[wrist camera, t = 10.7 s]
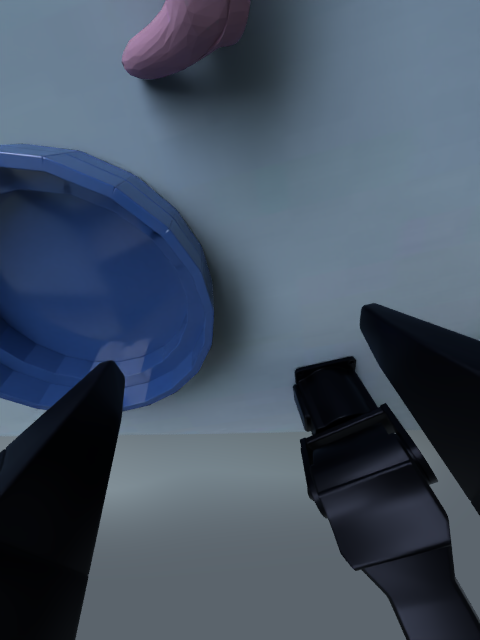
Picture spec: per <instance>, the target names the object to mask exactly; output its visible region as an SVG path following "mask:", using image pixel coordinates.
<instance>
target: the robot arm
mask: <svg viewBox="0 0 480 640" xmlns="http://www.w3.org/2000/svg"><path fill="white" fill-rule="evenodd" d="M360 329H361V332H362V333H363V335H364V337H365V339H366V341H367V343H368V345H369V347H370V349H371V351H372V353H373V355H374V357H375V359H376V361H377V362H378V364H379V366H380V368H381V369H382V371H383V372H384V374H385V375H386V377H387V378H388V380H389V381H390V383H391V384H392V386H393V387H394V389H395V390H396V392H397V393H398V395H399V396H400V398H401V399H402V401H403V402H404V404H405V405H406V406H407V408H408V409H409V411H410V412H411V414H412V415H413V417H414V418H415V420H416V421H417V423H418V424H419V426H420V427H421V429H422V430H423V432H424V433H425V435H426V436H427V438H428V439H429V440H430V442H431V444H432V445H433V446H434V448H435V449H436V451H437V452H438V454H439V456H440V457H441V458H442V460H443V461H444V463H445V464H446V466H447V467H448V469H449V470H450V472H451V473H452V475H453V476H454V478H455V479H456V481H457V482H458V483H459V485H460V487H461V488H462V490H463V491H464V493H465V494H466V496H467V497H468V499H469V500H470V501H471V503H472V505H473V506H474V507H475V509H476V511H477V512H478V514H479V515H480V341H478V340H476V339H473V338H470V337H467V336H465V335H462V334H459V333H456V332H454V331H451V330H448V329H445V328H442V327H440V326H437V325H434V324H431V323H429V322H426V321H423V320H420V319H418V318H415V317H412V316H409V315H406V314H404V313H401V312H398V311H395V310H393V309H390V308H387V307H384V306H381V305H379V304H376V303H372V304H368V305H364V306H363V307H362V309H361V316H360ZM355 367H356V360H355V358H354V357H352V356H351V357H346V358H341V359H337V360H332V361H328V362H324V363H319V364H315V365H310V366H306V367H301V368H298V369H296V370H295V380H296V384H295V385H294V386H293V391H294V399H295V402H296V405H297V408H298V411H299V414H300V417H301V420H302V423H303V426H304V429H305V430H306V431H307V432H309V431H311V432H312V436H310V437H308V438H303V439H300V443H301V454H302V459H303V465H304V471H305V476H306V482H307V487H308V488H307V489H308V495H309V497H310V499H312V500H313V501H315V503H316V505H317V507H318V509H319V511H320V512H321V514H322V515H323V516H324V517H325V518H328V520H329V522H330V525H331V527H332V530H333V533H334V536H335V539H336V541H337V544H338V547H339V550H340V553H341V555H342V556H343V557H344V558H345V560H346V561H347V562H348V563H349V564H350V566H351V567H352V568H353V569H354V570H355V571H357V570H362V571H363V572H364V573H365V574H367V576H368V577H369V578H370V579H371V580H372V581H373V582H374V583H375V584H376V585H377V586H378V587H379V588H380V589H381V590H382V591H383V592H384V593H385V594H386V596H387V597H388V599H389V601H390V603H391V605H392V607H393V610H394V612H395V614H396V616H397V619H398V621H399V623H400V625H401V628H402V630H403V633H404V635H405V637H406V640H480V620H479V617H478V616H477V614H476V612H475V610H474V609H473V607H472V606H471V603H470V602H469V600H468V598H467V597H466V595H465V593H464V591H463V589H462V588H461V586H460V584H459V582H458V581H457V579H456V577H455V573H454V564H453V555H452V546H451V537H450V528H449V520H448V516H447V514H446V512H445V510H444V508H443V507H442V505H441V504H440V502H439V500H438V499H437V497H436V495H435V494H434V492H433V491H432V489H431V488H430V486H429V485H430V484H433V483H436V482H438V480H437V478H436V476H435V474H434V473H433V471H432V469H431V468H430V466H429V464H428V463H427V461H426V460H425V458H424V457H423V455H422V454H421V452H420V451H419V449H418V448H417V446H416V445H415V443H414V442H413V440H412V439H411V437H410V436H409V435H408V433H407V432H406V430H405V429H404V428H403V426H402V425H401V423H400V422H399V421H398V419H397V418H396V416H395V415H394V414H393V412H392V411H391V409H390V408H389V407H388V405H387V404H386V403H385V404H382V405H380V407H377V405H376V404H375V402H374V400H373V399H372V397H371V396H370V394H369V393H368V391H367V389H366V388H365V386H364V385H363V383H362V382H361V380H360V378H359V377H358V375H357V374H356V372H355ZM124 389H125V377H124V374H123V373H122V371H121V370H120V368H119V367H118V366H117V364H116V363H115V362H114V361H113V360H109V361H105V362H101V363H100V364H98V365H97V366H96V367H95V368H94V369H93V370H92V371H91V372H89V373H88V374H87V375H86V376H85V377H84V378H83V379H82V380H81V381H79V382H78V383H77V384H76V385H75V386H74V387H73V388H72V389H71V390H69V391H68V392H67V393H66V394H65V395H64V396H63V397H62V398H61V399H59V400H58V401H57V402H56V403H55V404H54V405H53V406H52V407H51V408H49V409H48V410H47V411H46V412H45V413H44V414H43V415H42V416H41V417H39V418H38V419H37V420H36V421H35V422H34V423H33V424H32V425H31V426H29V427H28V428H27V429H26V430H25V431H24V432H23V433H22V434H20V435H19V436H18V437H17V438H16V439H15V440H14V441H13V442H12V443H10V444H9V445H8V446H7V447H6V449H4V450H3V451H1V452H0V640H75V638H76V633H77V628H78V624H79V619H80V614H81V609H82V604H83V600H84V595H85V591H86V586H87V581H88V574H89V570H90V566H91V561H92V556H93V552H94V547H95V542H96V537H97V533H98V528H99V523H100V519H101V514H102V509H103V504H104V500H105V495H106V490H107V486H108V481H109V476H110V471H111V467H112V462H113V457H114V452H115V448H116V443H117V438H118V434H119V429H120V424H121V418H122V409H123V399H124ZM394 433H396V434H394Z"/></svg>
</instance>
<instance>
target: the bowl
mask: <svg viewBox="0 0 480 640" xmlns="http://www.w3.org/2000/svg"><path fill="white" fill-rule="evenodd" d="M213 325H214V298H213V283H212V278H211V275H210V272H209V268H208V265H207V262H206V258H205V255H204V252H203V248H202V246H201V244H200V243H199V241H198V240H197V238H196V237H195V236H194V234H193V233H192V231H191V230H190V228H189V227H188V225H187V224H186V222H185V221H184V220H183V218H182V217H181V215H180V214H179V212H178V211H177V210H176V209H175V208H174V207H173V206H172V205H171V204H170V203H168V202H167V201H166V200H165V199H163V198H162V197H161V196H160V195H159V194H157V193H156V192H155V191H154V190H153V189H151V188H150V187H149V186H148V185H146V184H145V183H144V182H143V181H142V180H140V179H139V178H138V177H137V176H135V175H134V174H132V173H129V172H127V171H125V170H123V169H120V168H118V167H116V166H114V165H111V164H109V163H107V162H105V161H102V160H100V159H98V158H96V157H93V156H91V155H89V154H87V153H84V152H82V151H79V150H72V149H63V148H55V147H47V146H38V145H30V144H8V145H0V398H3V399H6V400H9V401H13V402H16V403H19V404H23V405H26V406H30V407H33V408H37V409H43V410H48V409H49V408H51V407H52V406H53V405H54V404H55V403H56V402H57V401H58V400H59V399H61V398H62V397H63V396H64V395H65V394H66V393H67V392H68V391H69V390H71V389H72V388H73V387H74V386H75V385H76V384H77V383H78V382H79V381H81V380H82V379H83V378H84V377H85V376H86V375H87V374H88V373H89V372H91V371H92V370H93V369H94V368H95V367H96V366H97V365H98V364H100V363H101V362H105V361H109V360H113V361H114V362H115V363H116V364H117V366H118V367H119V368H120V370H121V371H122V373H123V374H124V377H125V389H124V399H123V409H122V411H127V410H131V409H135V408H140V407H144V406H148V405H151V404H153V403H155V402H157V401H159V400H161V399H163V398H165V397H167V396H169V395H172V394H174V393H176V392H177V391H178V390H179V389H180V388H181V387H183V386H184V385H185V384H186V383H187V382H188V381H189V380H190V379H191V378H192V377H193V376H195V375H196V374H197V373H198V372H199V370H200V368H201V366H202V364H203V362H204V360H205V358H206V356H207V354H208V352H209V350H210V348H211V346H212V339H213Z"/></svg>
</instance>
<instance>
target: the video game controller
mask: <svg viewBox="0 0 480 640" xmlns="http://www.w3.org/2000/svg"><path fill="white" fill-rule="evenodd" d="M249 9H250V0H166V1H165V3H164V5H163V7H162V9H161V11H160V12H159V13H158V15H157V16H156V17H155V18H154V19H153V20H152V22H151V23H150V24H149V25H148V26H146V27H145V28H144V29H143V30H142V31H140V32H139V33H138V34H137V35H136V36H134V37H133V38H132V39H131V40H130V41H129V42H128V44H127V46H126V48H125V50H124V52H123V56H122V64H123V66H124V68H125V70H126V71H127V72H128V73H129V74H130V75H132V76H135V77H137V78H141V79H158V78H162V77H166V76H169V75H171V74H174V73H177V72H179V71H181V70H184V69H186V68H187V67H189V66H191V65H193V64H195V63H196V62H198V61H199V60H201V59H202V58H204V57H205V56H207V55H209V54H210V53H212V52H213V51H215V50H216V49H218V48H220V47H226V46H231V45H234V44H235V43H237V42H238V41H239V40H240V38H241V37H242V34H243V32H244V30H245V27H246V24H247V19H248V14H249Z"/></svg>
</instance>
